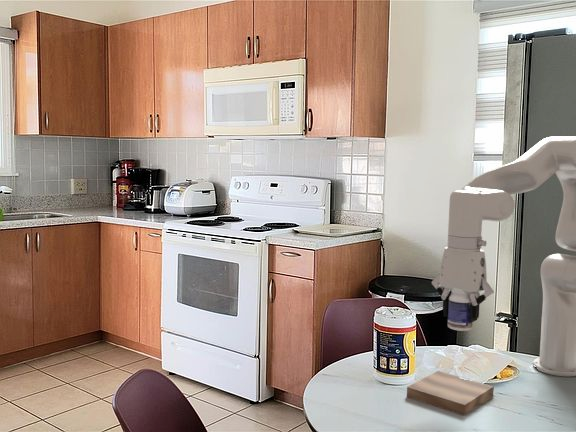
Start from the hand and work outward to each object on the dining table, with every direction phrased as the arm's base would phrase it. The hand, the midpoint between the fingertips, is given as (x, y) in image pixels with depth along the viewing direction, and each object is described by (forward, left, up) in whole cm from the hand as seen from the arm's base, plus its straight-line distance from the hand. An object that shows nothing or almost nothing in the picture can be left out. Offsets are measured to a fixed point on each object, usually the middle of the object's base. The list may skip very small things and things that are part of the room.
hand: (460, 317), depth 149 cm
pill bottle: (0, 0, -3) cm, 3 cm away
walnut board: (0, -1, -20) cm, 20 cm away
